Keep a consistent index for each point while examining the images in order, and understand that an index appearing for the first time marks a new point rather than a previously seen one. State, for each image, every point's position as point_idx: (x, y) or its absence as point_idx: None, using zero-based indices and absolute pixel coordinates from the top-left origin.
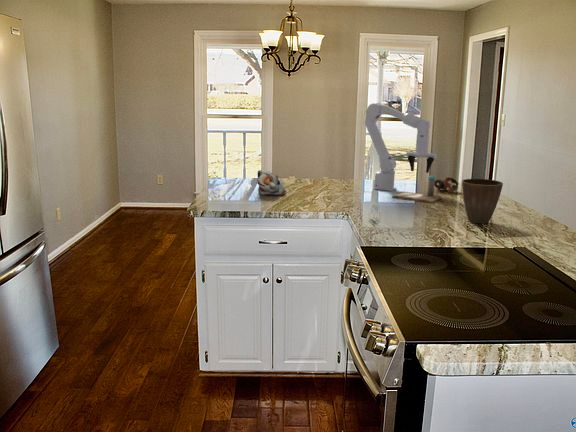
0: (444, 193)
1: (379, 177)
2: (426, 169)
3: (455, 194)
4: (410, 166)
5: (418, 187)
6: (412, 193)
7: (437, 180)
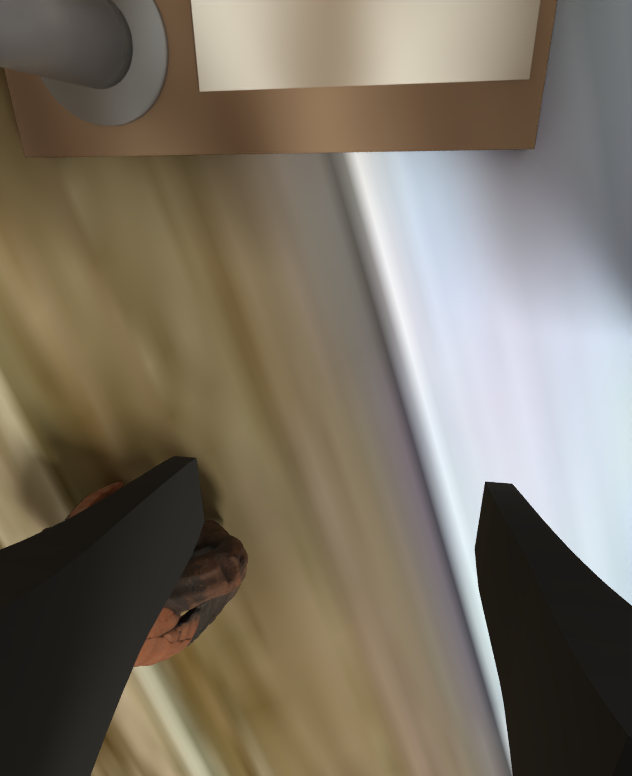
0: (137, 443)
1: None
2: (160, 483)
3: (50, 448)
4: (564, 543)
5: (437, 599)
6: (358, 68)
7: (189, 578)
